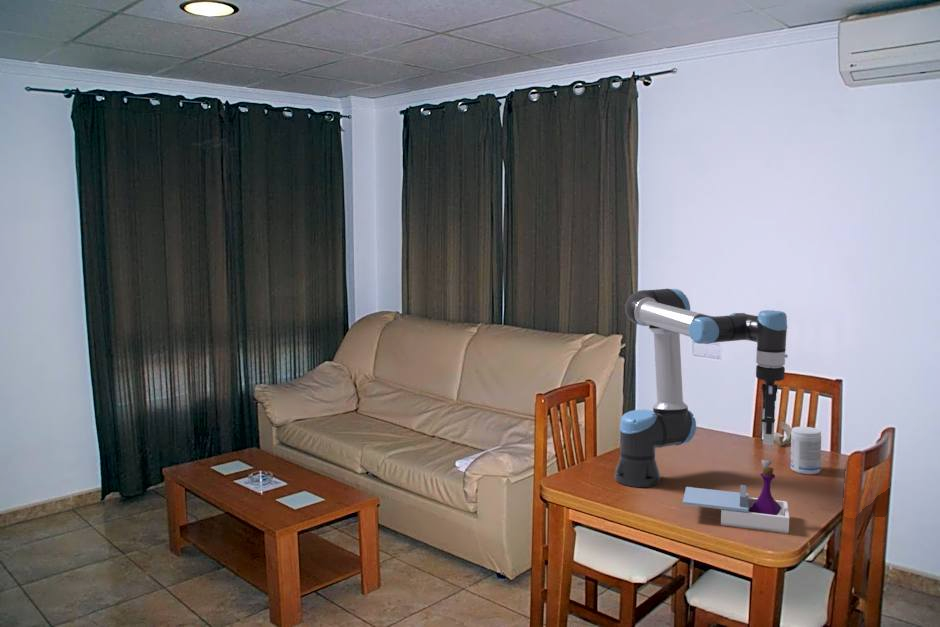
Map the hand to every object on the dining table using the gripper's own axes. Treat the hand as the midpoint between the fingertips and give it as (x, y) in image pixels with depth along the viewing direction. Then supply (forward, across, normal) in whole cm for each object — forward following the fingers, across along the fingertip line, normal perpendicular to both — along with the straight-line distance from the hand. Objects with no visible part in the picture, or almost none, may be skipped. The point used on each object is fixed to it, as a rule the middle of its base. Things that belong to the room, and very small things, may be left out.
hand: (767, 437), depth 207 cm
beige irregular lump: (+26, +81, -7) cm, 85 cm away
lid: (+20, 0, +13) cm, 24 cm away
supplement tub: (+26, +51, -14) cm, 59 cm away
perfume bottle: (+25, 0, 0) cm, 25 cm away
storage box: (+25, 0, +3) cm, 25 cm away
